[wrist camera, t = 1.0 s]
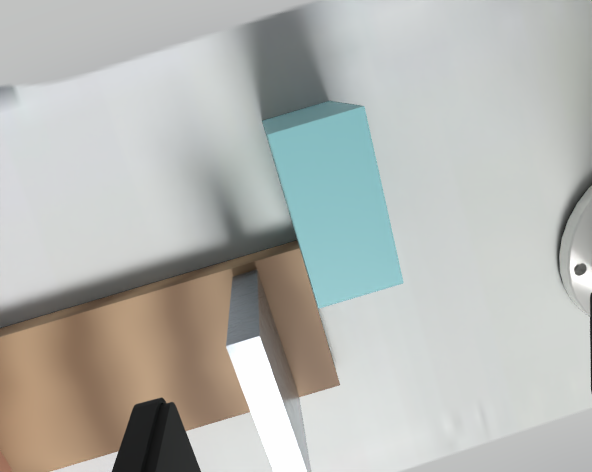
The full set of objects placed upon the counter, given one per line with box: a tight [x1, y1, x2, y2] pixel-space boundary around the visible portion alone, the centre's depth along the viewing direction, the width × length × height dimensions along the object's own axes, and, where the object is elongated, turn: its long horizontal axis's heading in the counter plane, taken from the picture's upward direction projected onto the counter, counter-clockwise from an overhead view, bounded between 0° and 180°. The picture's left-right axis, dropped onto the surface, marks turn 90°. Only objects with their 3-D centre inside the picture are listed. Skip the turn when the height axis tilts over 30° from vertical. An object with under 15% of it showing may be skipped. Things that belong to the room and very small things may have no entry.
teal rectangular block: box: [262, 101, 403, 308], centre depth 24 cm, size 4×8×8 cm, turn 16°
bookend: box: [226, 270, 311, 472], centre depth 25 cm, size 2×9×8 cm, turn 16°
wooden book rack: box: [0, 240, 340, 472], centre depth 26 cm, size 28×10×10 cm, turn 106°
